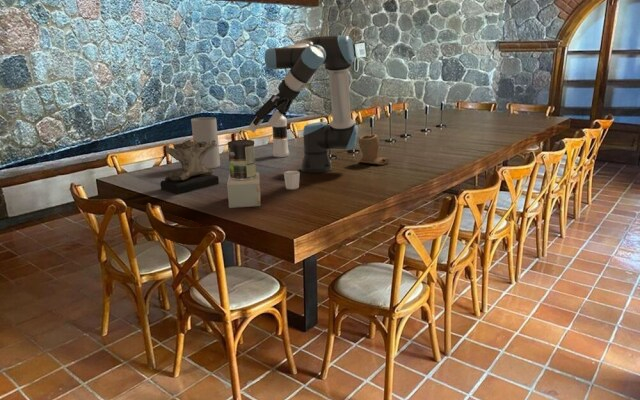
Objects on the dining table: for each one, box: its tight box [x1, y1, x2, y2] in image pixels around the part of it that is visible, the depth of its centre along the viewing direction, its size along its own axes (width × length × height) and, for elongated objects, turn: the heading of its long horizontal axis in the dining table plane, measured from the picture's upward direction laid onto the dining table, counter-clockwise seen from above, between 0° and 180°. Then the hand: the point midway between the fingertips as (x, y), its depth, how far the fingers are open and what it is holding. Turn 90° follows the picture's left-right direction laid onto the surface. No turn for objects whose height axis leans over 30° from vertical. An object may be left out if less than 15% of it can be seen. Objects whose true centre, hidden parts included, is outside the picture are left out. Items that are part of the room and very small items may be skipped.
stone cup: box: [358, 134, 391, 166], centre depth 258 cm, size 15×12×15 cm
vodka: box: [271, 107, 290, 159], centre depth 281 cm, size 9×9×30 cm
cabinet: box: [226, 171, 261, 209], centre depth 199 cm, size 12×17×10 cm
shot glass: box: [283, 170, 301, 190], centre depth 219 cm, size 7×7×7 cm
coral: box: [160, 139, 220, 196], centre depth 222 cm, size 25×20×22 cm
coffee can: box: [227, 139, 257, 180], centre depth 196 cm, size 10×10×14 cm
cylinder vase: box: [190, 116, 221, 170], centre depth 260 cm, size 12×12×25 cm
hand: (261, 127), depth 191 cm, fingers open, 13 cm apart
